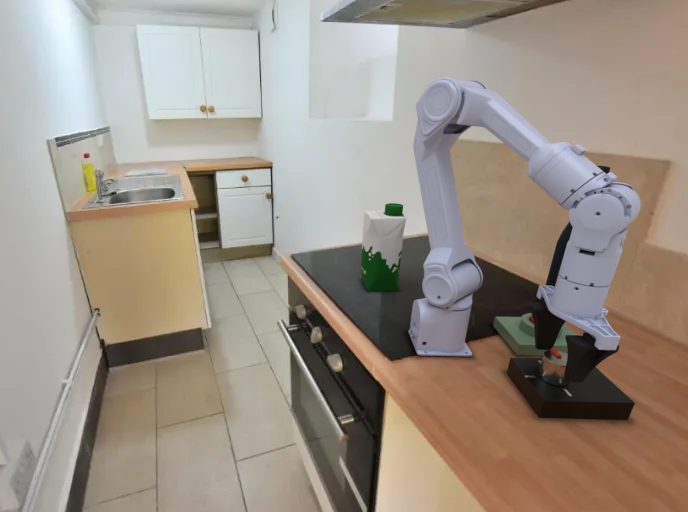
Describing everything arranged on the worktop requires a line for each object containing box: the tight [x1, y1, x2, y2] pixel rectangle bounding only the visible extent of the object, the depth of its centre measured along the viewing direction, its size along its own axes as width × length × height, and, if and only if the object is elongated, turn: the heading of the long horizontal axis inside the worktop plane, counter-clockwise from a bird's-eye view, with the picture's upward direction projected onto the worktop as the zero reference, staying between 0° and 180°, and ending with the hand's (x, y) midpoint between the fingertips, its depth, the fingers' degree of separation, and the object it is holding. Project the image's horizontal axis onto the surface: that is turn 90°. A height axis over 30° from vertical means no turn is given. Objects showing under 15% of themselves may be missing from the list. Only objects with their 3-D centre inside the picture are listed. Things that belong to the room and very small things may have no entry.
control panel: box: [506, 357, 636, 421], centre depth 56 cm, size 12×10×3 cm
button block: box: [492, 312, 578, 357], centre depth 70 cm, size 12×10×4 cm
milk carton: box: [360, 202, 407, 292], centre depth 90 cm, size 9×9×20 cm
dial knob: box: [538, 348, 570, 386], centre depth 55 cm, size 4×4×4 cm
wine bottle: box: [544, 165, 611, 287], centre depth 77 cm, size 6×6×30 cm
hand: (557, 363), depth 55 cm, fingers open, 7 cm apart
